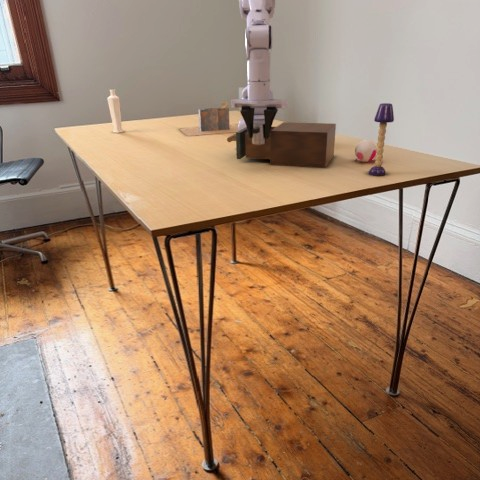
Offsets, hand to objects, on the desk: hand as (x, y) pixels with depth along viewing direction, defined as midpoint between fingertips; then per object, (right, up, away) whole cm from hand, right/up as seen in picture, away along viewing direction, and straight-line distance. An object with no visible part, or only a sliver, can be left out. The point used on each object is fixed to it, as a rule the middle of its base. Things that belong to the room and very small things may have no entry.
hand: (259, 137), depth 129 cm
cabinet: (+13, -2, +12) cm, 18 cm away
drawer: (+1, 0, +15) cm, 15 cm away
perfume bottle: (-53, +25, +61) cm, 84 cm away
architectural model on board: (-15, +25, +59) cm, 66 cm away
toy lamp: (+31, -11, -3) cm, 33 cm away
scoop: (0, -2, 0) cm, 2 cm away
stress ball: (+31, -4, +9) cm, 32 cm away
